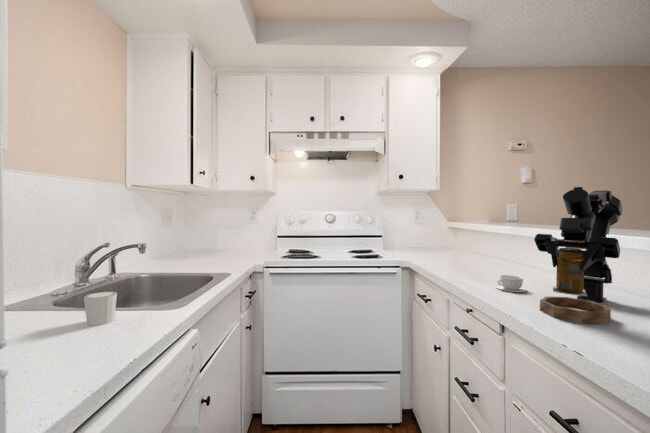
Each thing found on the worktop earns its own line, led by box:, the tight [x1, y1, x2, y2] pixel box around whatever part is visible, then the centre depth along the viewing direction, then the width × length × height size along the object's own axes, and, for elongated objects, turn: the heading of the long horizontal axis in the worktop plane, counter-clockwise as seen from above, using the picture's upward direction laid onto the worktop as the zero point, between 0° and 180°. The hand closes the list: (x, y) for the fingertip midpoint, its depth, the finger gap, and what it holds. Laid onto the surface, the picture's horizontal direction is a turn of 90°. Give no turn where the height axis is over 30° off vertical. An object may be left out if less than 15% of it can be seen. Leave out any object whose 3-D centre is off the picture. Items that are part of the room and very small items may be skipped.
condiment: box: [552, 247, 587, 296], centre depth 86 cm, size 7×8×12 cm
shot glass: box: [83, 291, 118, 327], centre depth 79 cm, size 7×7×7 cm
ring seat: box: [539, 296, 612, 326], centre depth 86 cm, size 14×14×3 cm
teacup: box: [495, 274, 528, 293], centre depth 114 cm, size 10×10×5 cm
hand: (567, 268), depth 86 cm, fingers closed on condiment, 6 cm apart
